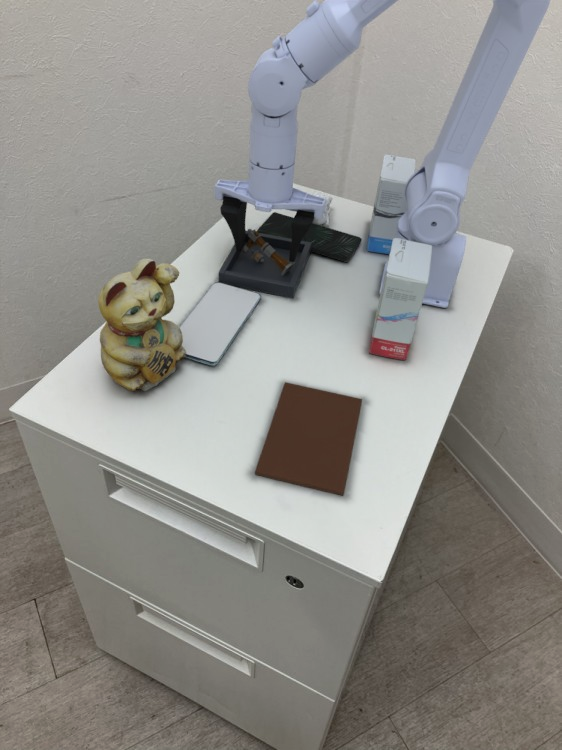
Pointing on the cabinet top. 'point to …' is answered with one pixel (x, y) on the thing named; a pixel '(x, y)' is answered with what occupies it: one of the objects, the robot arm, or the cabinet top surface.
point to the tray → (265, 267)
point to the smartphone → (216, 321)
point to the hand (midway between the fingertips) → (266, 252)
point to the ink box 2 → (401, 298)
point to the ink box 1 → (389, 202)
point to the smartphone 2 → (314, 237)
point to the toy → (325, 217)
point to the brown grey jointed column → (265, 251)
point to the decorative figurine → (140, 326)
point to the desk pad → (311, 439)
